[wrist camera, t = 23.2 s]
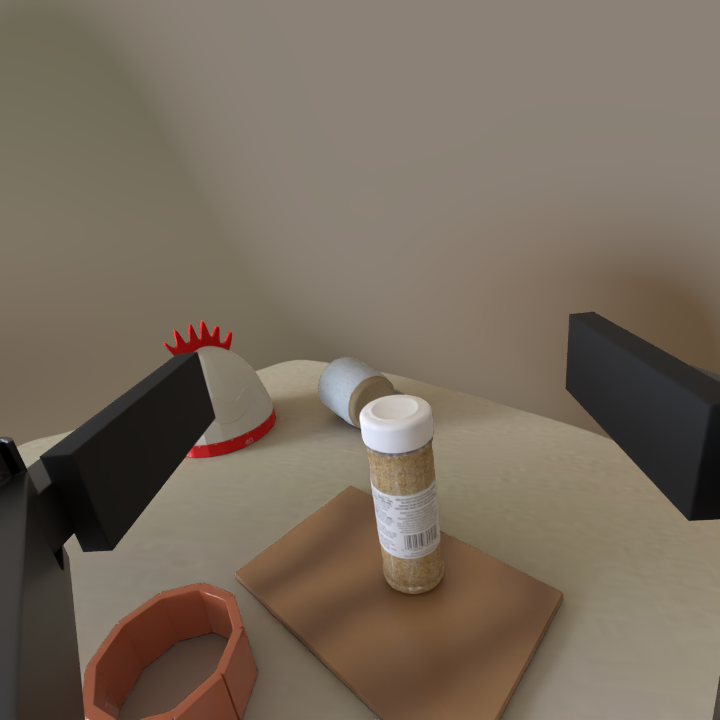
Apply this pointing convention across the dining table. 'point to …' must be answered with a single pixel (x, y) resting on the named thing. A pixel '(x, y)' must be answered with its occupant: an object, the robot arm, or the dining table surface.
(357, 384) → the ceramic mug
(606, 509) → the dining table surface
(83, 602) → the dining table surface
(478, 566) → the wooden board
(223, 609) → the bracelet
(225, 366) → the kitchen timer
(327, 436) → the dining table surface
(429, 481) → the sprinkles bottle
